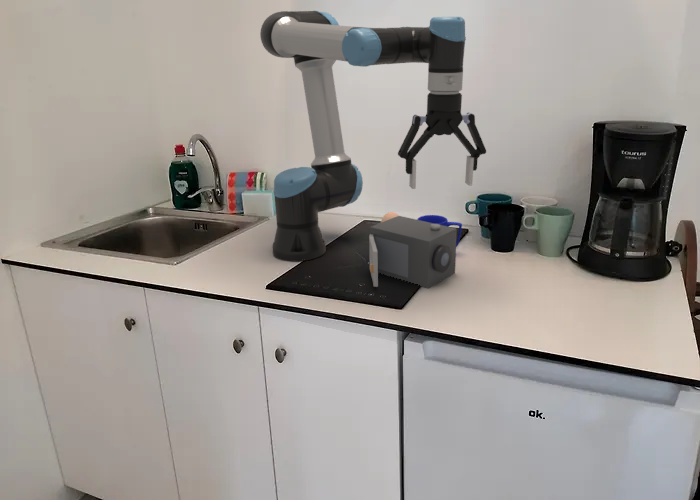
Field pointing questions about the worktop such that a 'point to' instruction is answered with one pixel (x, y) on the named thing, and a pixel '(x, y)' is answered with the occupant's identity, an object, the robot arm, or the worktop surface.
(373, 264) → the door
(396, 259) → the camera body
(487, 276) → the worktop surface
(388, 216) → the egg
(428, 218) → the mug
